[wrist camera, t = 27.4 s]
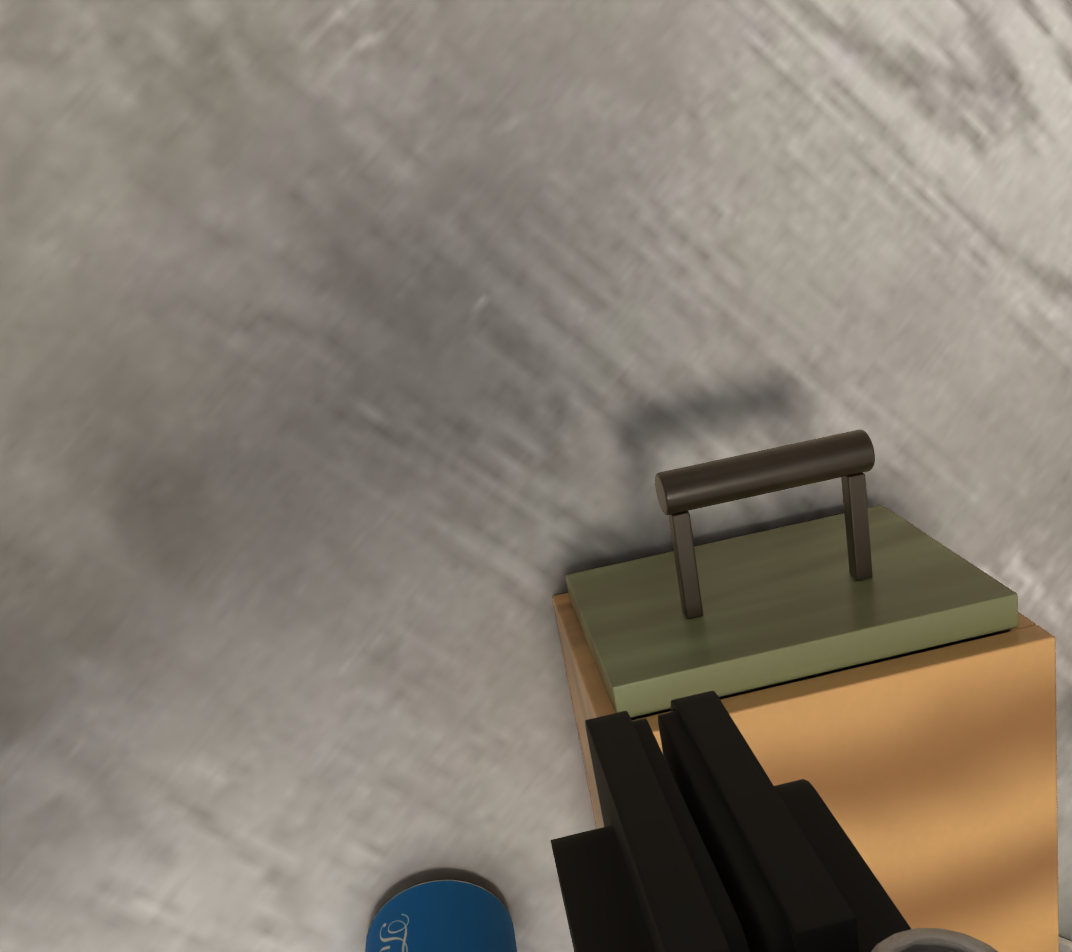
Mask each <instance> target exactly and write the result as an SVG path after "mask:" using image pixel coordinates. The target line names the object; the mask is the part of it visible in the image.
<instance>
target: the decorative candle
mask: <svg viewBox="0 0 1072 952" xmlns="http://www.w3.org/2000/svg"><path fill="white" fill-rule="evenodd" d="M1059 952H1072V941H1069V940H1067V939H1064V938H1062V937H1059Z"/></svg>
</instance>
